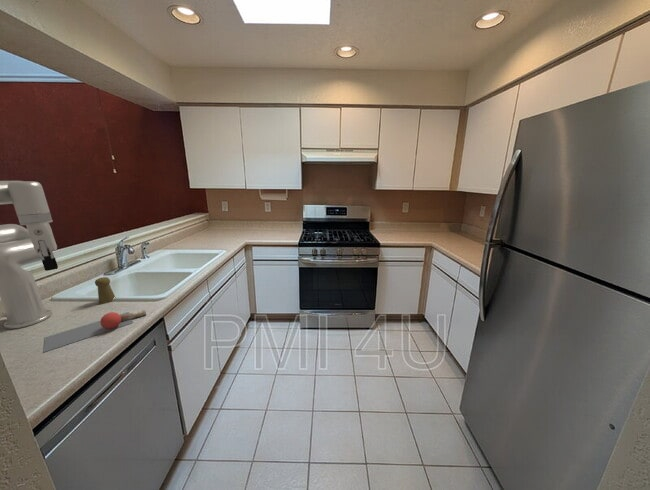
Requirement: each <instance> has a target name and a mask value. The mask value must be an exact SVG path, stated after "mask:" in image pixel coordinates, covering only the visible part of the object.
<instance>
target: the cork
mask: <svg viewBox="0 0 650 490" xmlns="http://www.w3.org/2000/svg"><path fill="white" fill-rule="evenodd" d="M110 284H111V279H110V278H109V277H107V276H103V277H99V278H97V279H95V280H94V285H95V286H96V287H97V295H98V304H100V305H102V304H103V305H104V304H109V303H112V302H113V301H112V300H113V298H114V297H115V298H116V296H115V294H114V293H115V292H114V291H113V289H112V287H111V285H110Z"/></svg>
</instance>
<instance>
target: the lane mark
mask: <svg viewBox="0 0 650 490" xmlns="http://www.w3.org/2000/svg"><path fill="white" fill-rule="evenodd" d="M125 314H129V311H127V312H124V313H120V314H119V315H120V316H121V315H125ZM100 321H101V319H100V320H98V321H94V322H90V323H88V324H85V325H81V326H78V327H75V328H71V329H69V330H64V331H62V332H58V333H55V334H52V335H48V336H45V337H44V344H43V353H48V352H49V351H53V350H55V349H59V348H62V347H65V346H68V345H70V344H74V343H76V342H80V341H83V340H86V339H89V338H92V337H94V336H95V337H96V336H97V335H101V334H103V333H107V332H110V331H113V330H116V329H119V328H122V327H125V326H128V325H131V324H133V323H134V321H133V319H129V320H126V321H122V322H120V324H119V325H118V326H117V327H115V328H112V329H106V328H103V327H102V326H101V323H100Z"/></svg>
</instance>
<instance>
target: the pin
mask: <svg viewBox="0 0 650 490" xmlns="http://www.w3.org/2000/svg"><path fill="white" fill-rule="evenodd" d="M143 316H147V312H146V308H144V309H141V310H137V311H133V312H130V313H129V314H125V315H121V322H122V321H126V320H129V319H132V320H133V319H136V318H141V317H143Z"/></svg>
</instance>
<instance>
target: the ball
mask: <svg viewBox="0 0 650 490" xmlns="http://www.w3.org/2000/svg"><path fill="white" fill-rule="evenodd" d="M100 320H101V321H100ZM100 320H99V321H100V323H101V326H102V327H103V328H106V329H112V328H115V327H117V326H118V325H119V324H120V322H121V316H120V314H119V313H118V312H114V311H113V312H112V311H111V312H107V313H106V314H104V315H102V317H101V318H100Z"/></svg>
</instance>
